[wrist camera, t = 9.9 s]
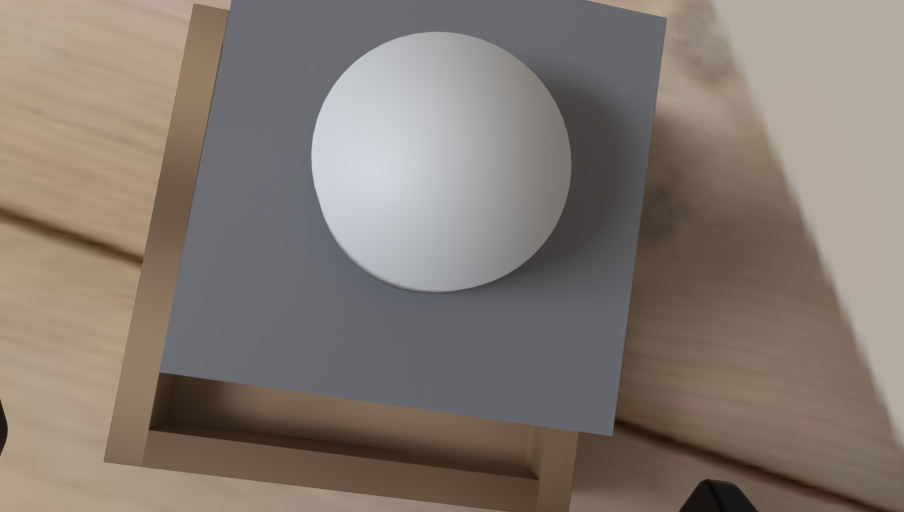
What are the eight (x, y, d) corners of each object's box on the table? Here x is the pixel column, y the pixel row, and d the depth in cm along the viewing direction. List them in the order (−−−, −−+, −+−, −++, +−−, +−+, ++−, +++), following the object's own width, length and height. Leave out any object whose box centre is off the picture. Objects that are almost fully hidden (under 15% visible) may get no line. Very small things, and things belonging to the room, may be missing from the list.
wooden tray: (540, 492, 19) (567, 519, 17) (137, 441, 18) (103, 461, 16) (591, 116, 20) (624, 89, 18) (214, 43, 19) (193, 3, 17)
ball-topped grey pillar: (444, 357, 18) (658, 457, 5) (288, 333, 18) (121, 384, 5) (468, 204, 19) (719, -32, 6) (315, 177, 18) (227, -146, 5)
